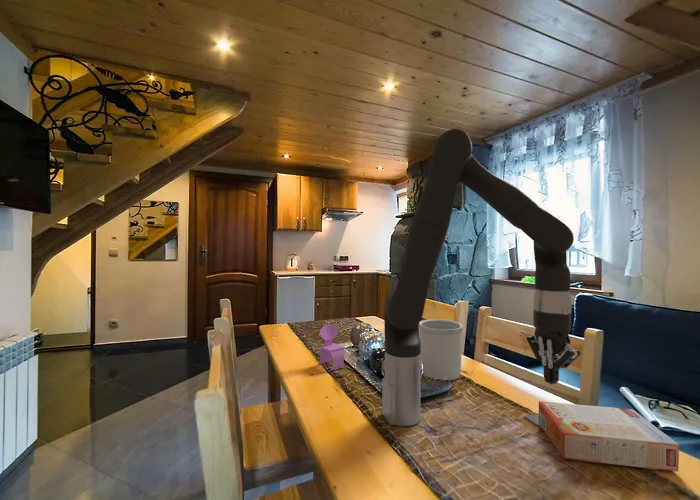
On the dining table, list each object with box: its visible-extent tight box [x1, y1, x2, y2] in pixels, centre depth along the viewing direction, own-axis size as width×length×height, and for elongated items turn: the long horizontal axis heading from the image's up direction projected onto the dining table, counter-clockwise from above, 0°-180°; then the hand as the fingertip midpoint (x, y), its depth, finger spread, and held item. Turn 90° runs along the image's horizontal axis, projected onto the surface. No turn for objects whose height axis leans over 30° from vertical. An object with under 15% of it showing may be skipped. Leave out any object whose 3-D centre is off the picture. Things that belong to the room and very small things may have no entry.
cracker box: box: [538, 400, 680, 473], centre depth 72 cm, size 14×6×21 cm
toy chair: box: [317, 323, 346, 372], centre depth 120 cm, size 8×9×15 cm
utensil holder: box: [419, 318, 464, 381], centre depth 114 cm, size 15×15×18 cm
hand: (551, 382), depth 75 cm, fingers closed
